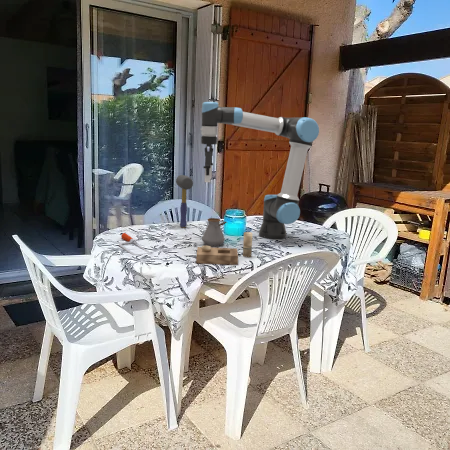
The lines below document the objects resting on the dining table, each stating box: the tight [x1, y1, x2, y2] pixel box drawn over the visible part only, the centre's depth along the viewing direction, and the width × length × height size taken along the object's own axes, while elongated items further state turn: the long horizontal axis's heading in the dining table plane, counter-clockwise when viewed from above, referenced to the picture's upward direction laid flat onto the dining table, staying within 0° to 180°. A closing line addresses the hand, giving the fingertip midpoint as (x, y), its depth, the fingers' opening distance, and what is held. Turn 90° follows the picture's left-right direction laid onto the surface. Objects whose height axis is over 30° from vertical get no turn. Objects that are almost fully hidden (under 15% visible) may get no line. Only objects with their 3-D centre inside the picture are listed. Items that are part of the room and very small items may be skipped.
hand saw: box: [118, 232, 154, 256], centre depth 221 cm, size 33×3×10 cm
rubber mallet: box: [175, 174, 194, 229], centre depth 261 cm, size 12×8×30 cm, turn 21°
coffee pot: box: [201, 217, 227, 247], centre depth 226 cm, size 21×12×15 cm, turn 22°
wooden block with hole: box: [195, 244, 239, 266], centre depth 205 cm, size 18×12×6 cm, turn 91°
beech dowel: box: [242, 231, 253, 258], centre depth 213 cm, size 4×4×11 cm
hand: (208, 180), depth 223 cm, fingers open, 13 cm apart
